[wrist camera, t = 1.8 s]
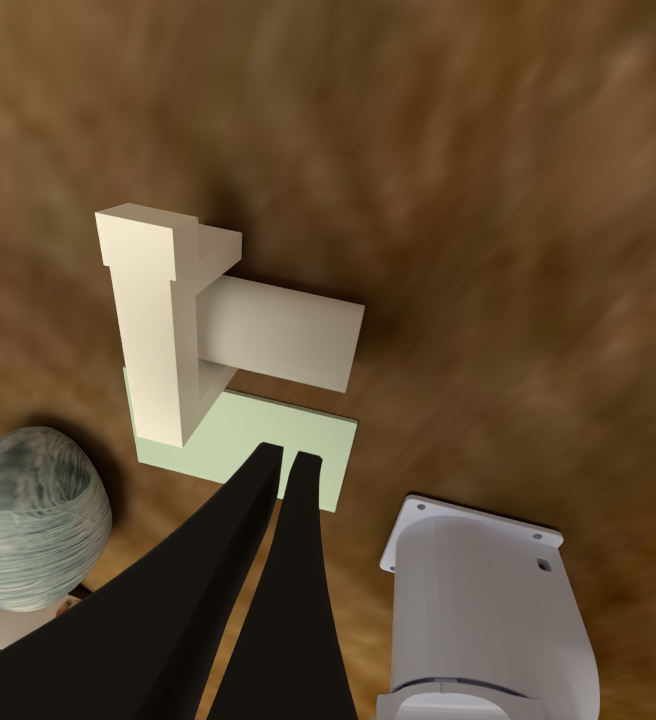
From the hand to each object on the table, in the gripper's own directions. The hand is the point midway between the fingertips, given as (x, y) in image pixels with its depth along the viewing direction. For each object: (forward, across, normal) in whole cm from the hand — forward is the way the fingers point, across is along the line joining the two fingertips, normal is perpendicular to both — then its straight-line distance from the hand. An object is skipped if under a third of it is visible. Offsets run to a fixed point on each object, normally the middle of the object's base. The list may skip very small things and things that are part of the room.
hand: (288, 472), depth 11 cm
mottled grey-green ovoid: (+10, +18, +18) cm, 27 cm away
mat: (+9, +5, +10) cm, 14 cm away
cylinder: (+10, +4, 0) cm, 10 cm away
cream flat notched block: (+9, +6, 0) cm, 11 cm away
